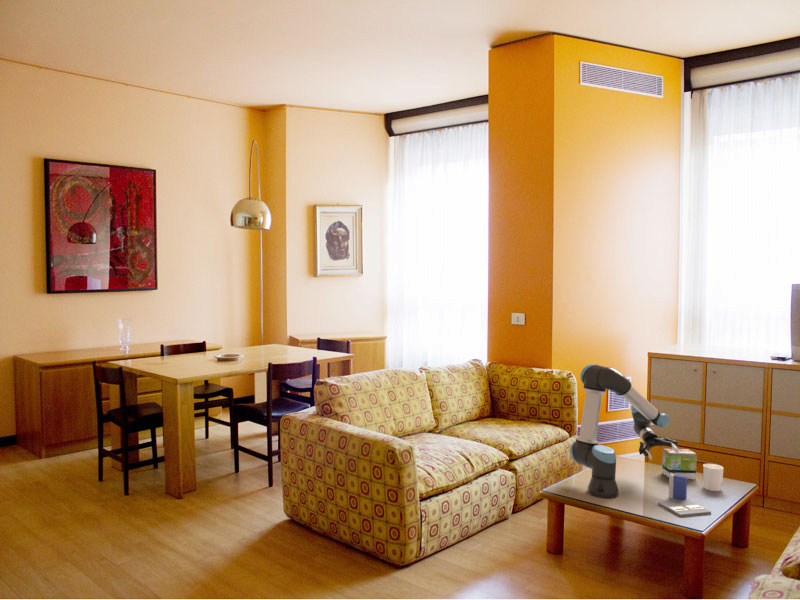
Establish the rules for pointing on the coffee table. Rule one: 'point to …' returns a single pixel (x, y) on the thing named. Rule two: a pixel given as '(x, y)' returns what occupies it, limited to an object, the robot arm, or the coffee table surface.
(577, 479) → the coffee table surface
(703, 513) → the label board
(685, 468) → the tea box
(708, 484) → the candle holder
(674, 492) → the walkman
